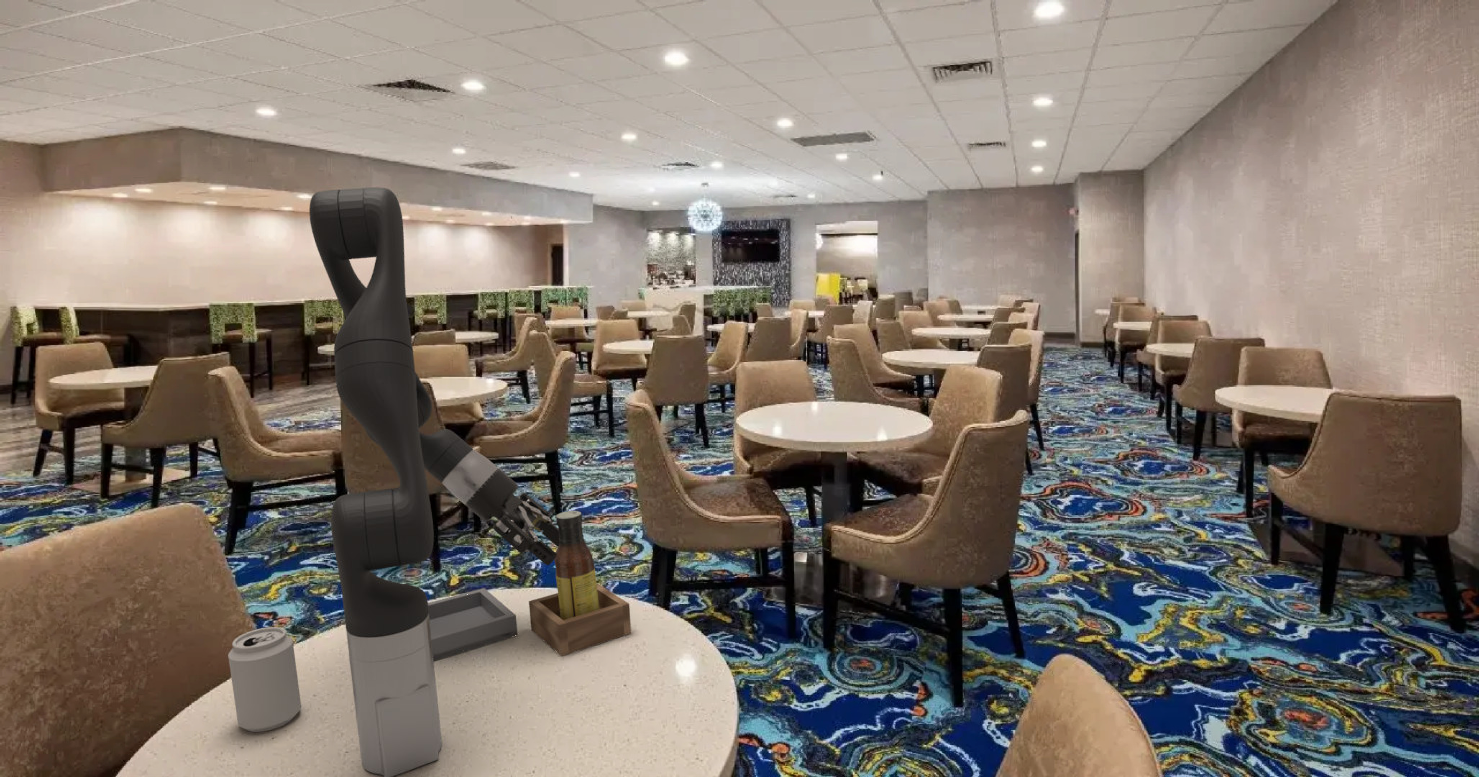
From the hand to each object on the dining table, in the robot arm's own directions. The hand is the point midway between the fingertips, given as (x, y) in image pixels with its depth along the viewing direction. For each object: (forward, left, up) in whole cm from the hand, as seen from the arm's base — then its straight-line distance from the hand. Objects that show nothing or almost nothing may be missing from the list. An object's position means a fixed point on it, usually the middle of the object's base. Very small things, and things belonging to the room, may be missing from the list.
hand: (558, 551), depth 132 cm
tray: (+11, +14, -14) cm, 23 cm away
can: (+1, +42, -14) cm, 44 cm away
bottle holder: (-2, -2, -14) cm, 14 cm away
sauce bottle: (-2, -2, -14) cm, 14 cm away
